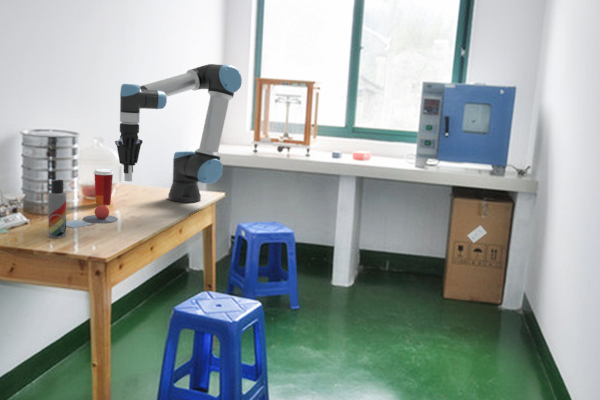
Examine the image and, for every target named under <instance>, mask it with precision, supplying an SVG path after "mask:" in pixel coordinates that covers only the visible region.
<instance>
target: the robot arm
mask: <svg viewBox="0 0 600 400" xmlns="http://www.w3.org/2000/svg"><path fill="white" fill-rule="evenodd" d="M242 80H243V79H242V75H241V73H240V71H239V69H238V68H237V67H236V66H233V65H230V64H216V63H208V64H204V65H202V66H198V67H196V68H195V67H194V68H192V69H188V70H187V71H186V72H185V73H182V74H178V75H175V76H172V77H169V78H164V79H161V80H157V81H154V82H150V83H147V84H142V85H140V84H136V83H135V84H133V83H122V84H121V86H120V93H119V96H120V97H119V99H120V102H119V105H120V106H119V122H120V123H119V132H120V136H119V139H118V140H115V141H114V143H115V145H116V149H117V155H118V162H119V164H121V165H122V166H123V173H124V177H123V178H124V179H123V180H124V182H129V183H131V182H132V181H133V173H134V166H136V164H138V162H139V156H140V150H141V147H142V144H143V140H142V139H140V138H139V135H138V134H139V133H140V124H139V123H140V113H141V111H140V109H148V110H149V109H150V110H162V109H164V108H165V107H166V106H167V104H168V103H167V102H168V101H167V98H168V97H171V96H174V95H177V94H180V93H184V92H188V91H190V90H192V91H198V90H207V93H208V94H209V101H208V105H207V111H206V115H205V120H204V125H203V128H202V129H203V130H202V134H201V139H200V142H199V147H198V148H197V149H196V150H195V151H194V150H193V151H191V150H190V151H188V150H187V151H186V150H185V151H176V152H174V153H173V159H172V161H173V162H172V163H173V164H172V183H171V186H170V190H169V192H168V197H167V198H168V200H169V201H171V202H176V203H177V202H178V203H196V202H200V201H201V197H202V194H201V192H200V188H199V185H198V184H199V183H201V184H207V185H210V184H211V185H212V184H214V183H216V182H217V181H219V180H220V178H221V177H222V176H223V172H224V167H223V162H221V154H220V153H219V149H220V144H221V139H222V136H223V131H224V130H223V129H224V125H225V120H226V116H227V112H228V106H229V102H230V100H231V99H233V98H234V96H235V95H234V94H235V93H236V92H238V90H240V88H241V87H242V84H243V83H242Z"/></svg>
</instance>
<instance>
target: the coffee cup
mask: <svg viewBox="0 0 600 400" xmlns="http://www.w3.org/2000/svg"><path fill="white" fill-rule="evenodd" d="M93 175H94V192H95V194H94V196H95V205H96V206H100V205H104V206H106V207H107V206H110V205H111V202H112V201H111V199H112V190H113V187H112V186H113V175H114V172H113V170H112V169H110V168H109V169H108V168H97V169H95V170H94V172H93Z"/></svg>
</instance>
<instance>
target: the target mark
mask: <svg viewBox="0 0 600 400" xmlns="http://www.w3.org/2000/svg"><path fill="white" fill-rule="evenodd" d="M118 220H119V219H118V217H116V216H113V215H110V214H109V215H108V217H107V218H105V219H99V218H97V217H96V215H95V214H91V215H87V216H84V217H83V218H82V221H84V222H88V223H92V224H111V223H114V222H117V221H118Z"/></svg>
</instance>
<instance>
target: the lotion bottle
mask: <svg viewBox="0 0 600 400" xmlns="http://www.w3.org/2000/svg"><path fill="white" fill-rule="evenodd" d="M47 198H48V203H47V204H48V205H47V206H48V208H47V209H48V211H47V213H48V215H47V216H48V217H47V218H48V219H47V220H48V222H47V224H48V227H47V228H48V229H47V230H48V237H49V238H53V239H56V238H57V239H61V238H65V237H66V236H67V226H66V222H67V193H66V192H64V180H63V179H55V180H51V190H50V192H49V193H48V197H47Z"/></svg>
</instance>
